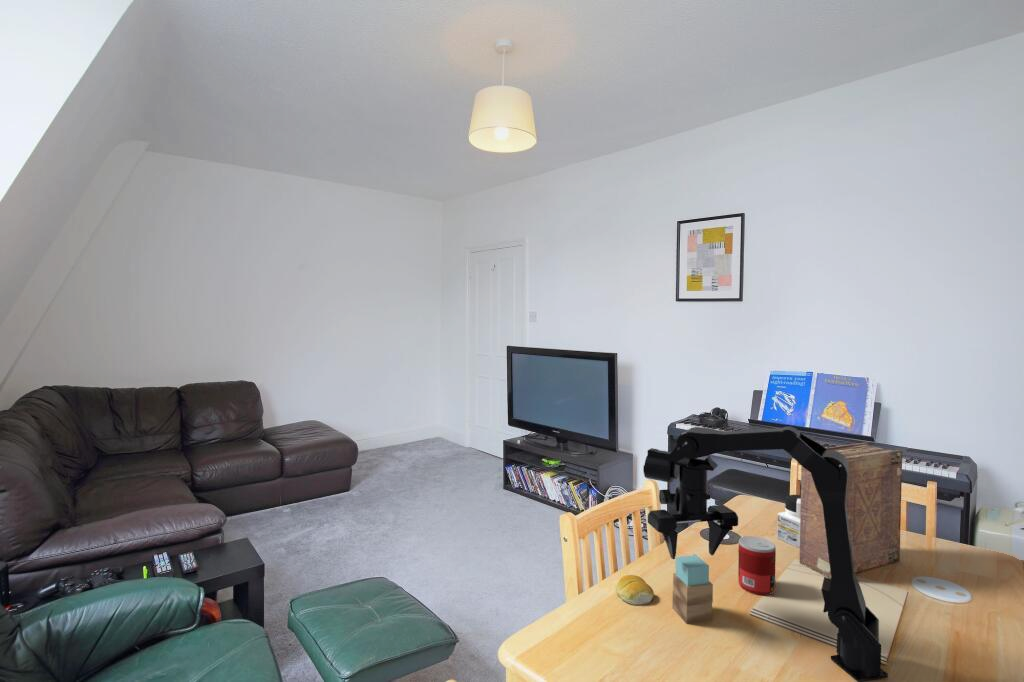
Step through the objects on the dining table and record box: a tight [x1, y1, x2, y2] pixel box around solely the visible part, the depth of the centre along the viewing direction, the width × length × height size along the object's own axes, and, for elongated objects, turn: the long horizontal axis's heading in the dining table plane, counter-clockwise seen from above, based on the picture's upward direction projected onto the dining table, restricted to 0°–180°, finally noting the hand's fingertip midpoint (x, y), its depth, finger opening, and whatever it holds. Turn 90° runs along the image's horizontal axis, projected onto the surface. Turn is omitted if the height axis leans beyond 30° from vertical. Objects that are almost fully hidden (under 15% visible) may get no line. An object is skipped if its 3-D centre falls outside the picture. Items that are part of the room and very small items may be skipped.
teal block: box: [675, 554, 710, 586], centre depth 112 cm, size 5×5×4 cm
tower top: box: [672, 572, 714, 606], centre depth 112 cm, size 6×6×4 cm
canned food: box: [737, 535, 777, 596], centre depth 123 cm, size 8×8×11 cm
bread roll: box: [615, 574, 655, 606], centre depth 121 cm, size 8×9×4 cm
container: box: [776, 494, 801, 549], centre depth 148 cm, size 8×8×13 cm
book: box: [799, 441, 903, 579], centre depth 134 cm, size 25×9×30 cm, turn 111°
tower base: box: [671, 590, 713, 625], centre depth 112 cm, size 6×6×4 cm
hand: (692, 556), depth 112 cm, fingers open, 9 cm apart
